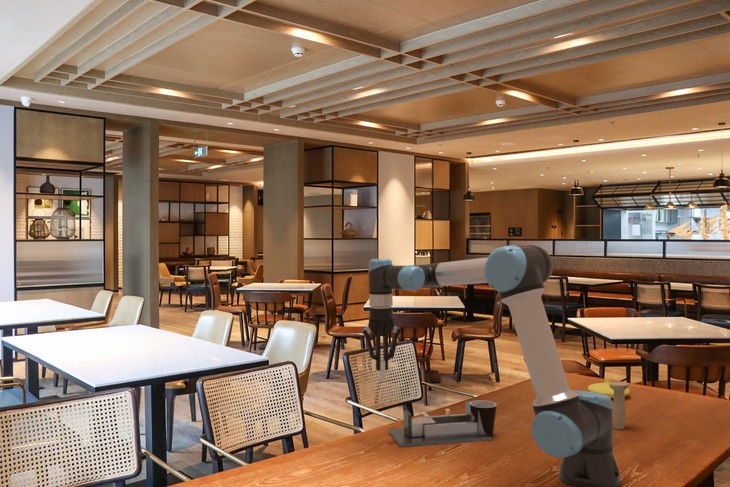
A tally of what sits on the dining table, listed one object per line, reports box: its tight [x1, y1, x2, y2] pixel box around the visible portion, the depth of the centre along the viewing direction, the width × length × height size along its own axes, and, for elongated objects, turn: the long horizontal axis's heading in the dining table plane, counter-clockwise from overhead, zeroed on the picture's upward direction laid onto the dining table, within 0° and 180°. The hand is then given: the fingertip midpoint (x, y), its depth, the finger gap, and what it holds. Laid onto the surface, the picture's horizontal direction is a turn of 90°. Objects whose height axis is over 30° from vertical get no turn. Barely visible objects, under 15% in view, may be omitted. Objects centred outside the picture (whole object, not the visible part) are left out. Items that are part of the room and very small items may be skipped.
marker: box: [445, 408, 451, 415], centre depth 210 cm, size 2×1×5 cm, turn 10°
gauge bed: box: [388, 400, 492, 448], centre depth 202 cm, size 16×30×9 cm, turn 100°
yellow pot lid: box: [587, 377, 631, 399], centre depth 248 cm, size 16×16×7 cm
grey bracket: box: [403, 409, 436, 437], centre depth 204 cm, size 11×9×7 cm
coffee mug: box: [470, 399, 498, 438], centre depth 204 cm, size 12×9×10 cm
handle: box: [609, 381, 630, 430], centre depth 207 cm, size 5×6×15 cm
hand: (382, 380), depth 198 cm, fingers closed
